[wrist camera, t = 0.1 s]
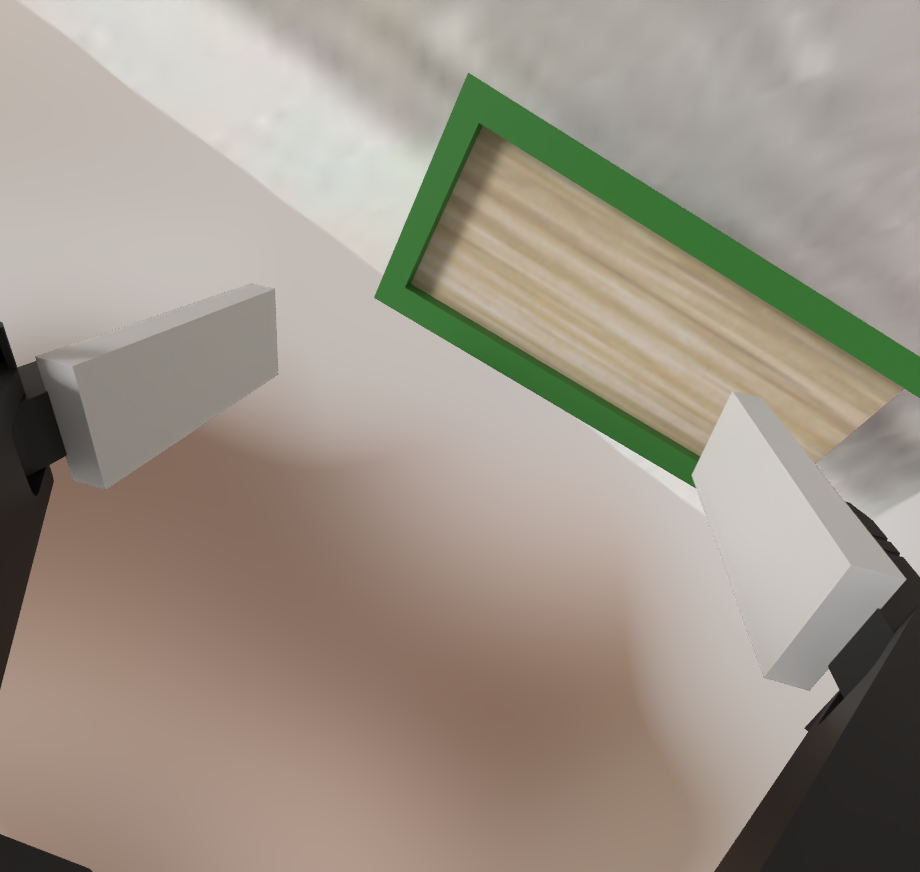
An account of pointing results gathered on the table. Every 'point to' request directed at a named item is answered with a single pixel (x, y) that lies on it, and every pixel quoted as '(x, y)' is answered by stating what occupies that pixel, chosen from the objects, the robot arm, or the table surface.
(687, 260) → the hardback book
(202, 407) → the robot arm
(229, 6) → the table surface
